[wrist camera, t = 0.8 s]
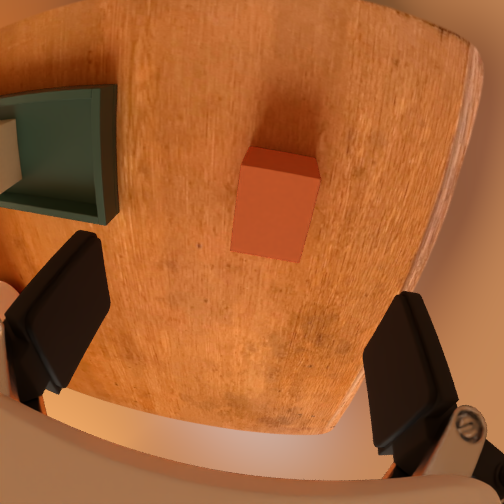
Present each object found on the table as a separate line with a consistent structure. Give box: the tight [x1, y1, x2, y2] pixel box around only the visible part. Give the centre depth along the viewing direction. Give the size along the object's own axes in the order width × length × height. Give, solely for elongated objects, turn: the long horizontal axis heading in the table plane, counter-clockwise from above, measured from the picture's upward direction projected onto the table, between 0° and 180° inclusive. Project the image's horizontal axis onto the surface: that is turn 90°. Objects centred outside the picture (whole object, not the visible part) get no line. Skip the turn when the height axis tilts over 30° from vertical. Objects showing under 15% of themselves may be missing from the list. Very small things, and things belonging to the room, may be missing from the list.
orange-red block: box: [230, 146, 321, 263], centre depth 22 cm, size 5×6×4 cm
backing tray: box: [0, 84, 119, 226], centre depth 23 cm, size 20×12×3 cm, turn 82°
